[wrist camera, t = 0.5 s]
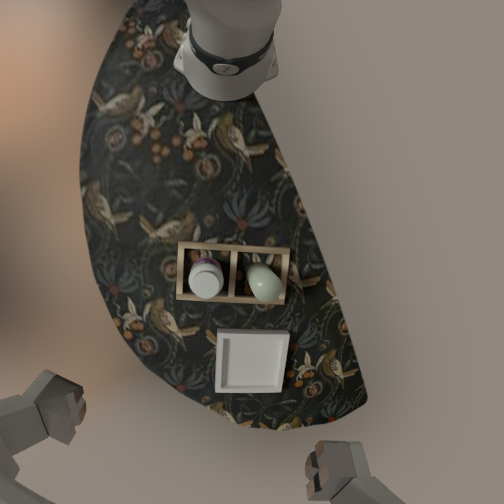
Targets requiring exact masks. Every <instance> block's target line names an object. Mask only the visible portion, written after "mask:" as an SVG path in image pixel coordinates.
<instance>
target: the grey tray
mask: <svg viewBox="0 0 504 504" xmlns="http://www.w3.org/2000/svg"><path fill="white" fill-rule="evenodd" d="M289 336H290V334H289V332H288V331H287V330H258V329H225V328H218V330H217V350H216V372H215V392H220V393H268V392H281V389H282V383H283V377H284V370H285V364H286V357H287V350H288V343H289Z"/></svg>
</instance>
